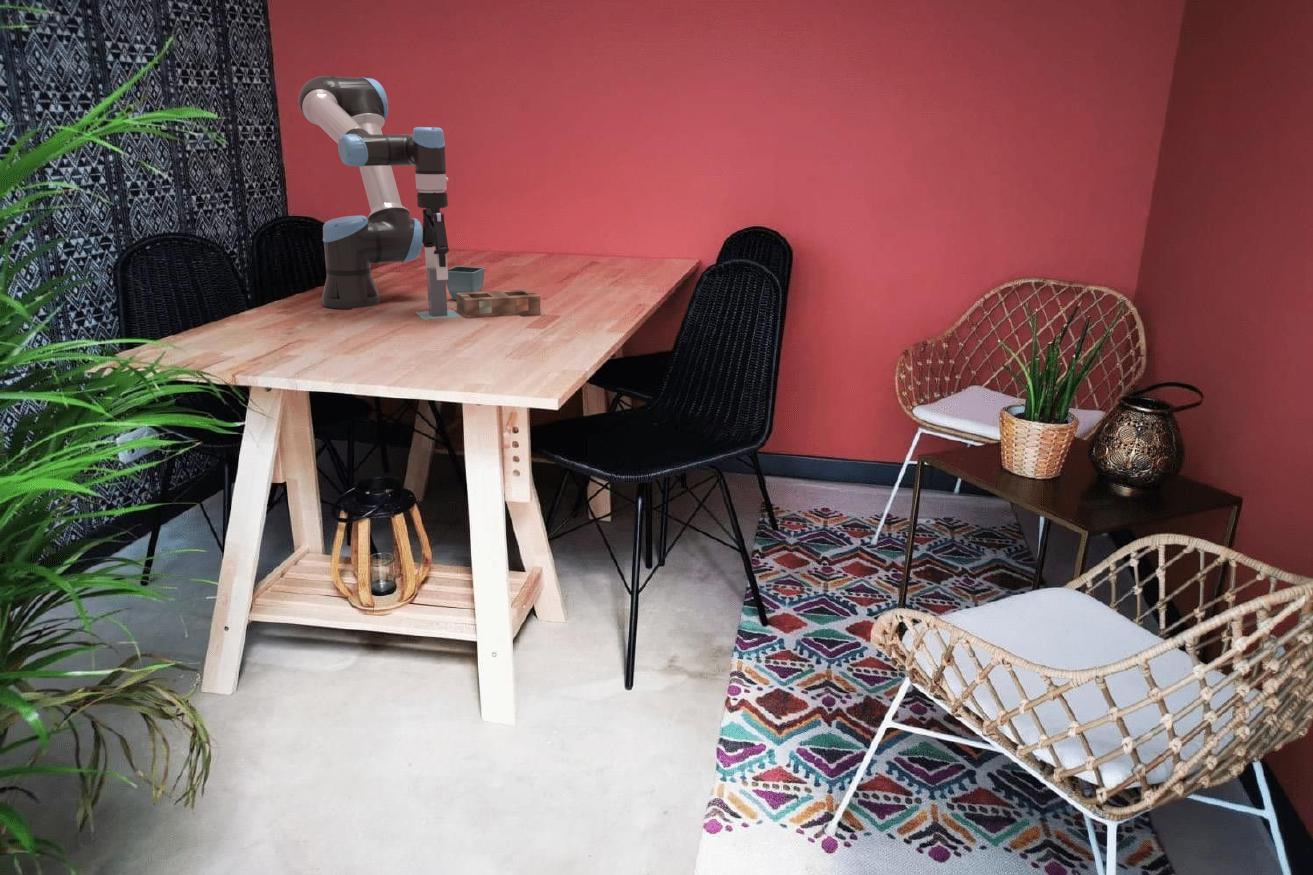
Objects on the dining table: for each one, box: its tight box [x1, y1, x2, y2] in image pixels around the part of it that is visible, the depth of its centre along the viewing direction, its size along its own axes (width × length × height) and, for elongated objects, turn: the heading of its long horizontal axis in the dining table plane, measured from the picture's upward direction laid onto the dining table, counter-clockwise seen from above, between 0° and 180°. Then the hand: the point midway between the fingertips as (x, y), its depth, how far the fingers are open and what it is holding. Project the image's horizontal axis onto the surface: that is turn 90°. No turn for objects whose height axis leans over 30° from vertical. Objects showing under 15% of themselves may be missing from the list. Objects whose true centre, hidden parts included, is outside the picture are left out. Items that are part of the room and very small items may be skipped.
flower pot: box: [446, 265, 486, 301], centre depth 267 cm, size 9×9×9 cm
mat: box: [415, 309, 462, 321], centre depth 247 cm, size 10×10×1 cm
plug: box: [426, 266, 448, 316], centre depth 245 cm, size 4×4×13 cm
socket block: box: [455, 288, 542, 319], centre depth 252 cm, size 20×11×5 cm, turn 114°
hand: (436, 276), depth 244 cm, fingers open, 13 cm apart
